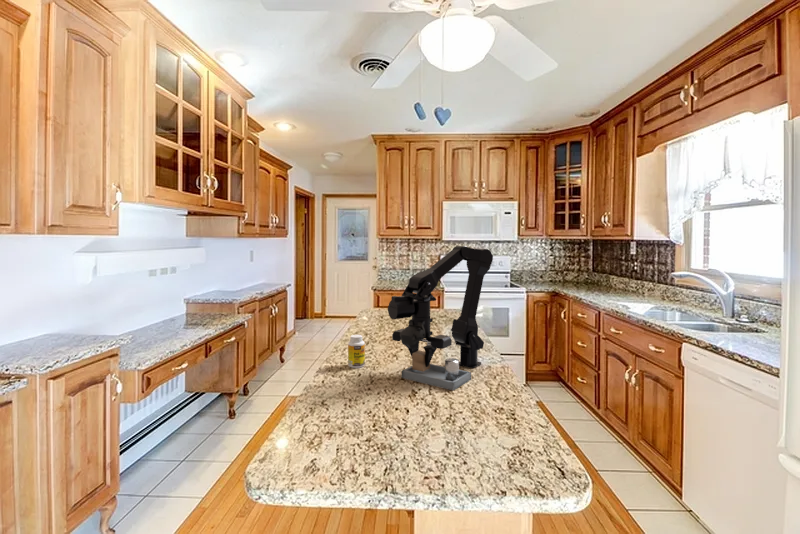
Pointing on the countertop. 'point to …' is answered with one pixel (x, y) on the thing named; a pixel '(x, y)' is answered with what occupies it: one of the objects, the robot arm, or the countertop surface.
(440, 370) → the parts tray
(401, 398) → the countertop surface
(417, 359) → the walnut block
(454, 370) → the grey peg
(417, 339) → the robot arm
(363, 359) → the supplement bottle
